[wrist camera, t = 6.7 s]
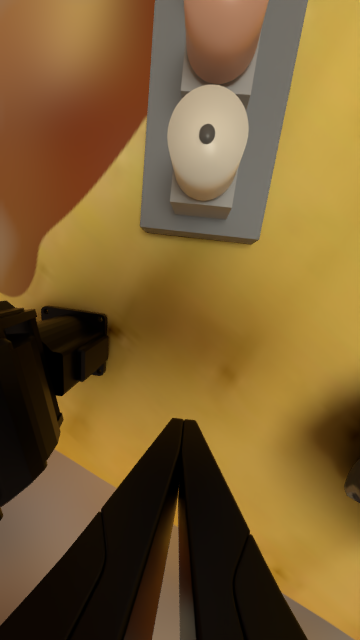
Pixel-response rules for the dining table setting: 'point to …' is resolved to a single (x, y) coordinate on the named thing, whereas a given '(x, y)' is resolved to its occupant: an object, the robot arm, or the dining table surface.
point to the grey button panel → (263, 119)
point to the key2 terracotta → (222, 36)
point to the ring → (353, 482)
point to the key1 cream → (207, 140)
